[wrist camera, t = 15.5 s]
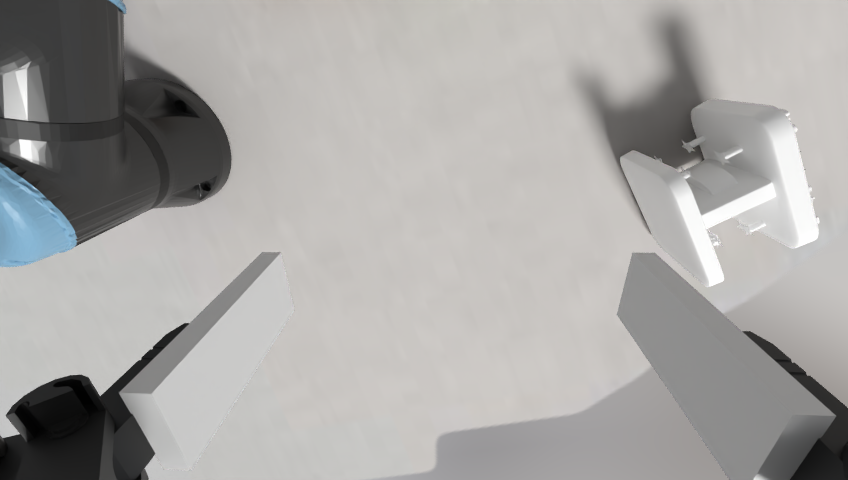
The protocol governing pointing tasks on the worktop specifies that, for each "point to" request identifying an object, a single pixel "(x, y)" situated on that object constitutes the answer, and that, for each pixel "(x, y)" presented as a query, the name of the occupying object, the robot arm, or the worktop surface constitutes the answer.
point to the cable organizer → (726, 185)
